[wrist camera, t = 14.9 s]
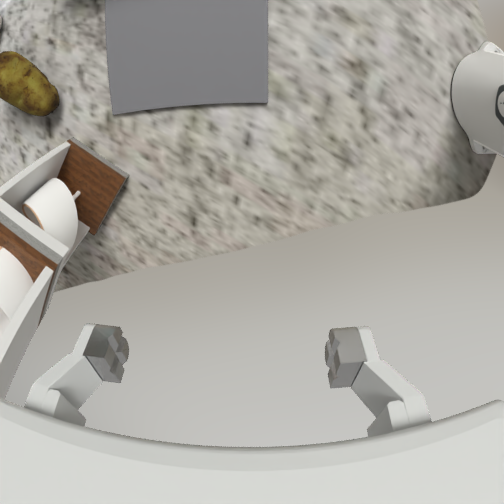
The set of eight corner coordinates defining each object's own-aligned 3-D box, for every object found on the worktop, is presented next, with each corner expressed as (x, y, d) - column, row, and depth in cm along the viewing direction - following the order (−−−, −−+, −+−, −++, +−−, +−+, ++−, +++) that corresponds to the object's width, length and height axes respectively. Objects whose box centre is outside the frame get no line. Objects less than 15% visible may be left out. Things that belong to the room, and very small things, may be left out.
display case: (99, 228, 44) (-7, 428, 16) (50, 194, 40) (-83, 367, 12) (129, 174, 39) (-18, 405, 11) (73, 137, 35) (-115, 314, 7)
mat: (267, -42, 22) (267, -44, 22) (267, 102, 34) (267, 102, 33) (107, -20, 22) (105, -21, 22) (114, 114, 34) (112, 114, 33)
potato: (35, 129, 34) (2, 146, 27) (7, 65, 27) (-27, 74, 20) (71, 101, 32) (38, 114, 26) (42, 32, 25) (7, 35, 18)
